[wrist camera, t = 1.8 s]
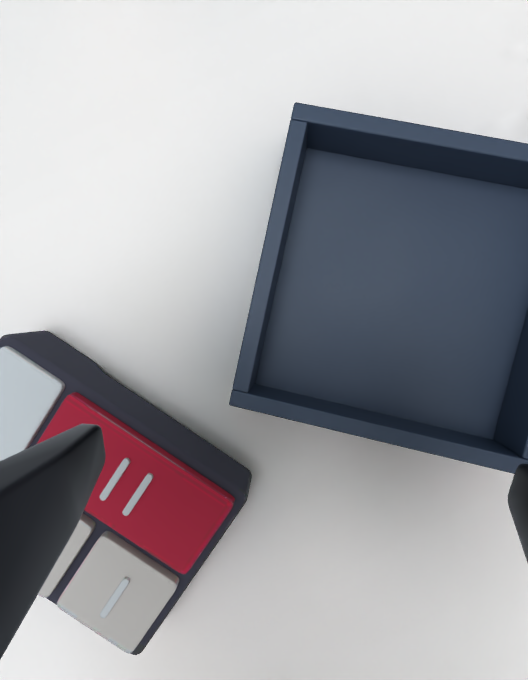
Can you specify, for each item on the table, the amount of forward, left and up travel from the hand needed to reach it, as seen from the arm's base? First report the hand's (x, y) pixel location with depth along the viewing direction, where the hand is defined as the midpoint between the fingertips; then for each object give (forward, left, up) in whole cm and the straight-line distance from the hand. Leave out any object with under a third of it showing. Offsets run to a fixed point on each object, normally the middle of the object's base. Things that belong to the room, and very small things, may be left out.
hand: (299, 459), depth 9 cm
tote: (+2, -7, -14) cm, 16 cm away
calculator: (0, +13, -15) cm, 20 cm away
